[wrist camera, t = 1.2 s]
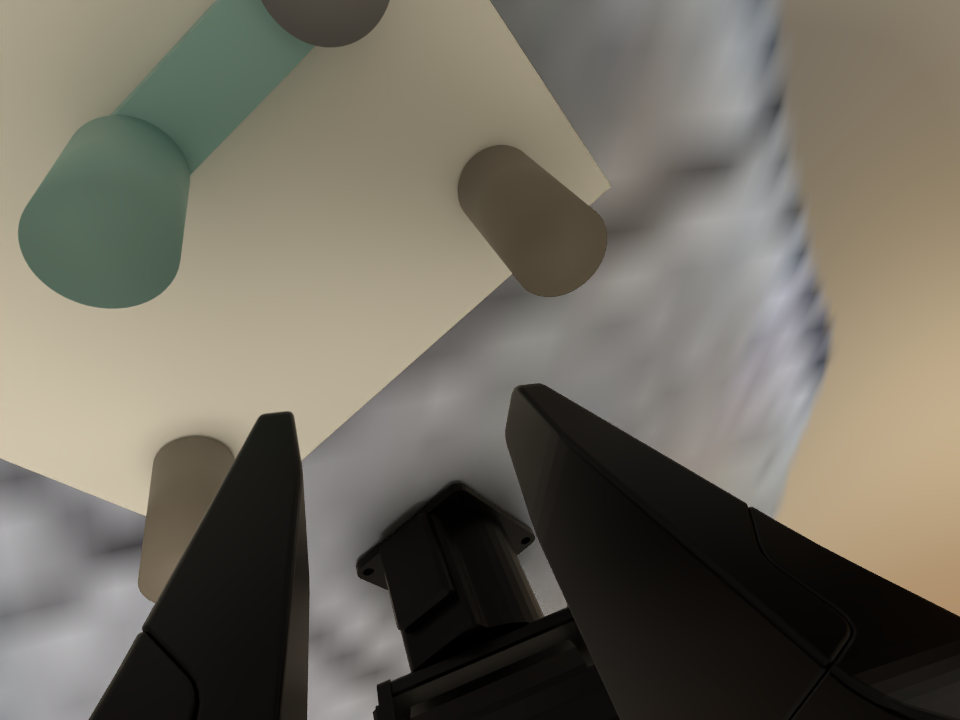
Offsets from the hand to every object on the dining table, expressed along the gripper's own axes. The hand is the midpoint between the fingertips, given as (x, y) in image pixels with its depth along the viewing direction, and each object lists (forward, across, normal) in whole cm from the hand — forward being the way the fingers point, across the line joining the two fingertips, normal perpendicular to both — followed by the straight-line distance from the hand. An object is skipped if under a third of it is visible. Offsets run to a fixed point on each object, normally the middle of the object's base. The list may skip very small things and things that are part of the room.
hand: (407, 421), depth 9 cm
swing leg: (+10, +2, -3) cm, 10 cm away
